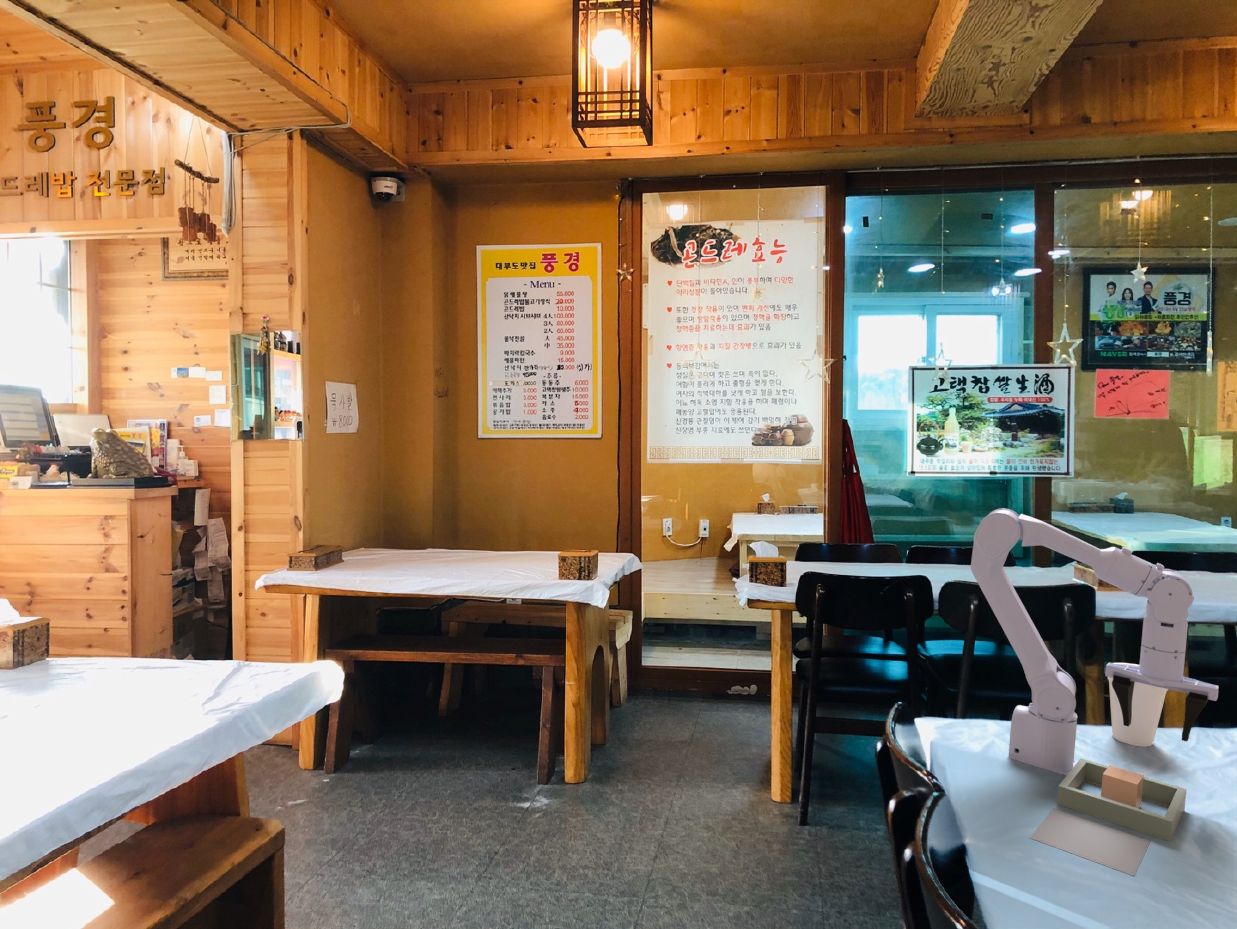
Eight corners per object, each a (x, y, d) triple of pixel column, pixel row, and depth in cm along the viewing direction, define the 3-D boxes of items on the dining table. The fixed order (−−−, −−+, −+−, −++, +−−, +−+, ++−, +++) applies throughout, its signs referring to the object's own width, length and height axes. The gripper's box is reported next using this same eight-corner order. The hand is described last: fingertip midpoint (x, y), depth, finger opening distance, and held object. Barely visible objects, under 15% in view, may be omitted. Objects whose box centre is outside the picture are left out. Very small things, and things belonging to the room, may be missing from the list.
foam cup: (1154, 734, 147) (1160, 667, 146) (1170, 754, 138) (1177, 682, 137) (1096, 726, 150) (1102, 660, 149) (1109, 744, 141) (1115, 674, 140)
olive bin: (1056, 808, 116) (1058, 785, 116) (1079, 779, 126) (1080, 758, 126) (1170, 846, 106) (1172, 822, 106) (1184, 811, 117) (1186, 789, 116)
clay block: (1100, 806, 116) (1102, 774, 116) (1107, 797, 119) (1109, 765, 119) (1134, 818, 113) (1137, 784, 113) (1140, 807, 116) (1143, 775, 116)
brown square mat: (1029, 843, 106) (1029, 838, 106) (1052, 813, 114) (1053, 808, 114) (1133, 882, 97) (1134, 876, 97) (1150, 846, 106) (1150, 840, 106)
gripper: (1104, 641, 124) (1097, 724, 125) (1217, 664, 114) (1209, 753, 115) (1113, 634, 129) (1106, 713, 130) (1222, 655, 120) (1214, 740, 121)
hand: (1155, 731), depth 123 cm, fingers open, 7 cm apart
